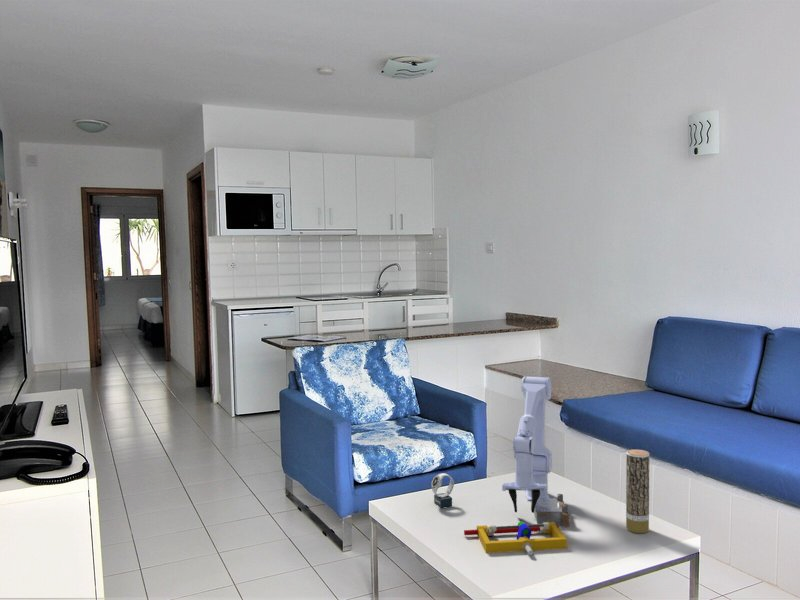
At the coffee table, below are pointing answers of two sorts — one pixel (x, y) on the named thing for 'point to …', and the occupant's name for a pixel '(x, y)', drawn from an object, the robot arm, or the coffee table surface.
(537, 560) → the coffee table surface
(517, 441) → the robot arm
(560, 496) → the bench stop
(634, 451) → the brown bark patterned canister
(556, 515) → the grey metal block
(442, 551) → the coffee table surface
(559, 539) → the mechanical clamp
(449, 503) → the watch
